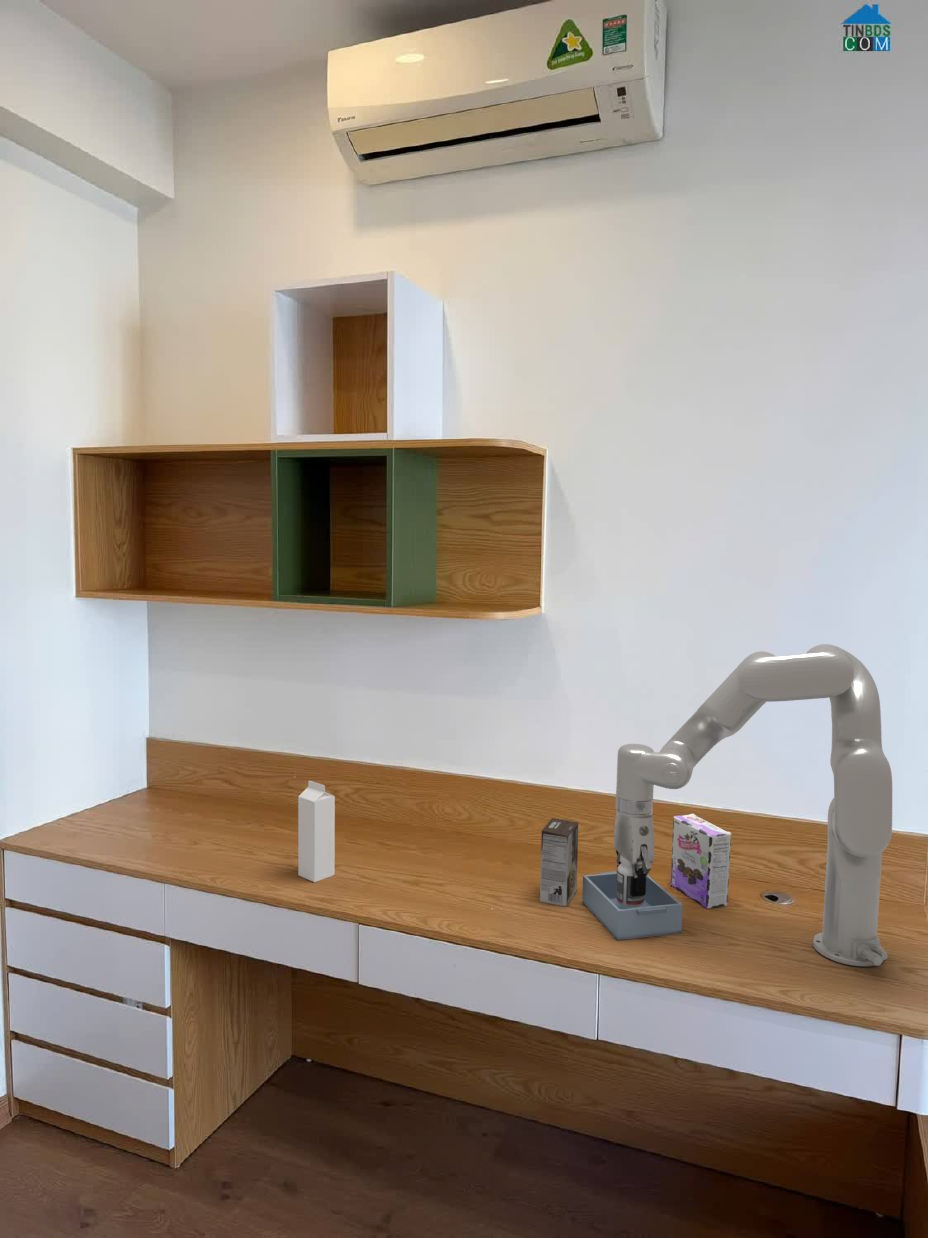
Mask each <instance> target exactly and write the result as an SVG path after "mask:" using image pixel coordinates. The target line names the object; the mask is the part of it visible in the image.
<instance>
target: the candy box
mask: <svg viewBox="0 0 928 1238" xmlns="http://www.w3.org/2000/svg"><path fill="white" fill-rule="evenodd" d="M672 817H673V819H672V820H673V821H672V844H671V845H672V846H671V847H672V848H671V871H670V872H671V873H670V885H671V887H674V888H675V889H676V890H678V891H679V892H682V893H683V894H684V895H685V896H687V897H688V898H690V899H692V900H693V901H695V902H696V903H697V904H700V905H701V907H704V908H705V909H715V908H722V907H727V906H728V898H729V882H730V881H729V879H730V865H731V852H732V851H731V850H732V849H731V848H732V847H731V846H732V832H730V831H726V830H724V829H722V828H721V827H719V826H717V825H715V824H713V823H711V822H710V821H707V820H705V819H703V818H701V816H698V815H696V814H695V813H689V814H682V815H675V816H672Z"/></svg>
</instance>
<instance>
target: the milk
mask: <svg viewBox="0 0 928 1238" xmlns="http://www.w3.org/2000/svg"><path fill="white" fill-rule="evenodd" d="M307 783H308V784H307V785H308V786H307V787H306V788H305V790H303V791H302V792H301V793H300V794H299V795H298V798H297V799H298V801H297V803H298V804H297V805H298V807H297V808H298V809H297V811H298V814H297V815H298V819H297V821H298V823H297V825H298V827H297V830H298V834H297V835H298V837H297V838H298V843H297V844H298V845H297V847H298V849H297V851H298V852H297V853H298V856H297V857H298V860H297V861H298V865H297V866H298V869H297V870H298V874H297V875H298V876H300V877H301V878H303V879H306V880H308V881H310V882H313V883H316V882H320V881H322V880H325V879H329V878H330V877H333V876H335V865H336V864H335V862H336V861H335V859H336V858H335V856H336V855H335V854H336V852H335V847H336V846H335V845H336V842H335V837H336V836H335V832H336V831H335V830H336V829H335V828H336V827H335V824H336V823H335V821H336V817H335V813H336V812H335V811H336V804H335V802H336V796H335V795H334V794H332V793H329V792H326V785H324V784H322V783H318V782H315V781H312V780H308V782H307Z"/></svg>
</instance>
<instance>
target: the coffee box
mask: <svg viewBox="0 0 928 1238" xmlns="http://www.w3.org/2000/svg"><path fill="white" fill-rule="evenodd" d="M540 843H541V846H540V847H541V848H540V881H539V884H540V886H539V902H540V903H545V904H551V905H555V906H556V905H558V906H561V907H568V905H569V904H570V902H571V901H572V899H573V897H574V895H575V894H576V893H577V892H578V855H579V851H578V850H579V846H578V845H579V822H578V821H573V820H572V821H570V820H567V819H562V818H555V817H554V818H553V817H552V818H551V819H550V820H549V821H548V822H547V824H545V826H543V829H541V842H540Z"/></svg>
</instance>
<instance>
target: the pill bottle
mask: <svg viewBox="0 0 928 1238" xmlns="http://www.w3.org/2000/svg"><path fill="white" fill-rule="evenodd" d="M641 861H642V860H641V859H637V862H641ZM620 862H621V864H620V865H619V864H618V865H619V866H618V869H617V868H616V871H617V901H618V903H620V904H621V905H624V906H627V907H638V906H641V905H642V904H643V903H644V896H634V897H632V896H631V895H630V886H631V877H633V873H632V864H631V862H629V861H628V860H627V859H626V858H624V857H623V856H622V855H620ZM636 866H637V870H638V869H639V868H641V867H642V865H636Z"/></svg>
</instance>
